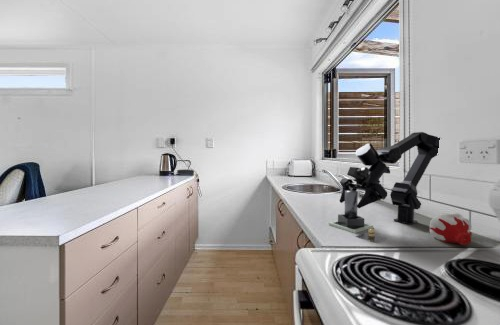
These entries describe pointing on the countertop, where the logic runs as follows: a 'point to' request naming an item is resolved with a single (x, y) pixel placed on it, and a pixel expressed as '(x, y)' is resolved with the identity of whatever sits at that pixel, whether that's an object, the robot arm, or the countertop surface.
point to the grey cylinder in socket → (351, 212)
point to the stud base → (371, 236)
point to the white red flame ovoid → (451, 228)
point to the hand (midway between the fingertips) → (348, 204)
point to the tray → (350, 228)
